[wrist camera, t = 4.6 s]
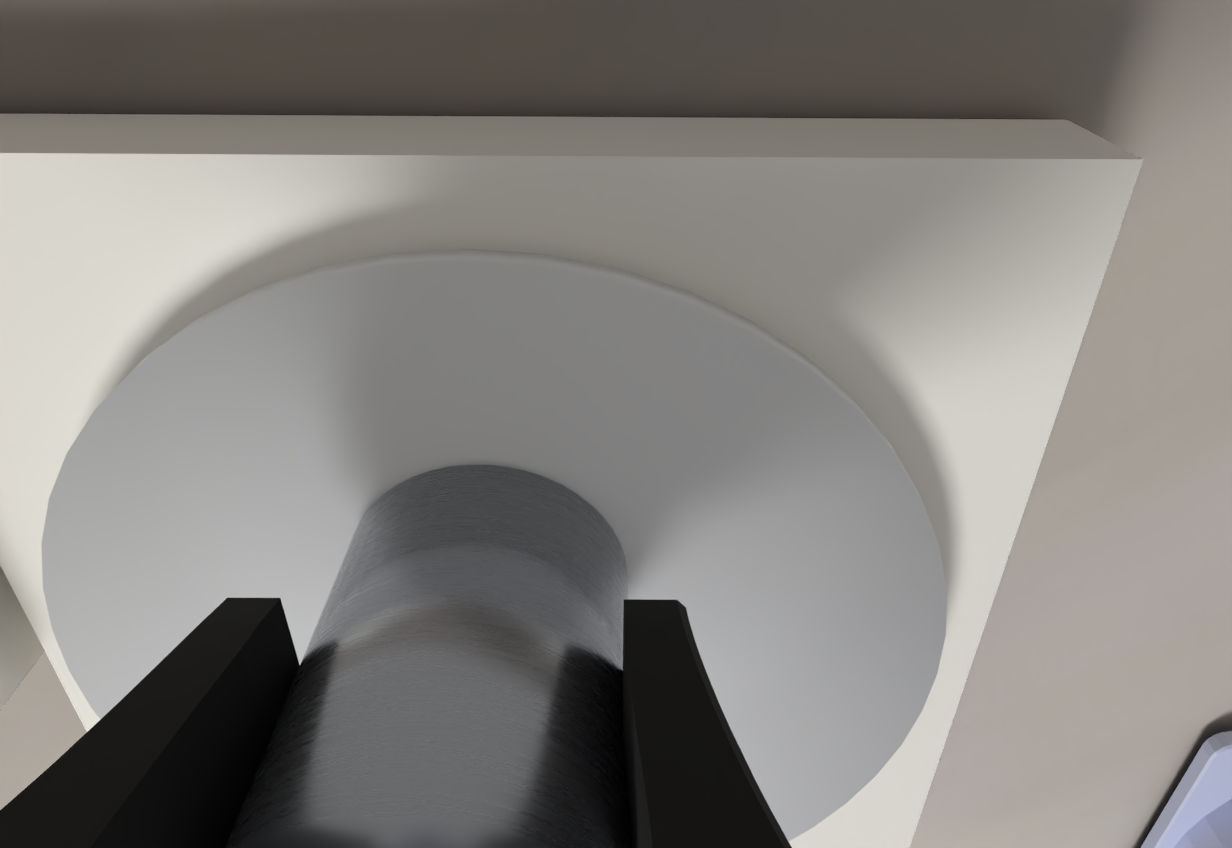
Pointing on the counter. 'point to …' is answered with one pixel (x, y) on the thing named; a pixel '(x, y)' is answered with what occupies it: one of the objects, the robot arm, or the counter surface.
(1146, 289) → the counter surface
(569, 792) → the cylinder
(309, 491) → the scale
